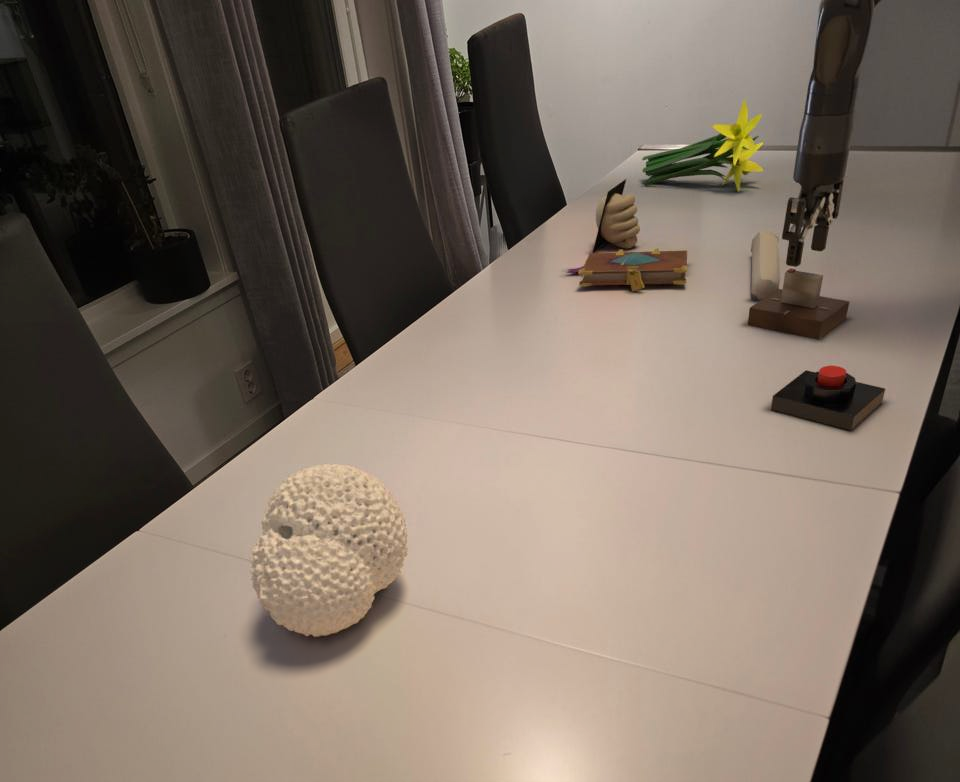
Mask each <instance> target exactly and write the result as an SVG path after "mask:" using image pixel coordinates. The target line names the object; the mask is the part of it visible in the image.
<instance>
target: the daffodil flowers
mask: <svg viewBox="0 0 960 782" xmlns="http://www.w3.org/2000/svg"><path fill="white" fill-rule="evenodd" d="M737 116H738V117H737V120H736V122H735V123H733V124H722V123H721V124H717V123H716V124H712V125H711V127H712V128H713V129H714V130H715V131H717V132H718V134H717V135H714V136H711V137H708V138H706V139H703V140H700V141H698V142H695V143H692V144H689V145H687V146H686V145H685V146H683V147H679V148H675V149H671V150H665V151H661V152H657V153H654V154H650V155H646V156H643V157H642V161H645V167H644V168H643V169H642V173H643V174H644V173H645V176H647V177H649V178H647V179H645V180H644V181H643V185H644V186H645V187H647V186H649V185H653V184H657V183H660V182H664V181H667V180H669V179H674V178H675V179H676V178H681V177H683V178H684V177H693V176H717V177H719V178H721V179H723V182H722V185H724V184H726V182H727V181H728V180H729V179H730V178H731V177H732V176H733V179H734V183H735V186H736V190H737V193H738V192H740V190H741V181H742V175H743V176H748V175H749V174H750V172H755V173H756V172H764V169H763V168H762V167H761V166H760V165H759V164H758V163H756V162H755V161H751V160H749V159H750V158H751V157H752V156H753V155H754V154H756V152H757V151H758V150H759V149H760V148H761V146H762V145H763V144H764V142H759V143H755V140H757V139H758V138H759V137H760V136H759V135H757V136H754V137H753V138H752V136H751V134H750V133H751V132H752V130H754V129H755V128H756V127H757V125H758V124H759V123H760V121H761V118H762V117H763V113H760V114H757V115H755V116H754V117H752V118H751V119H749V109H748V104H747V100H746V98H744V99H743V101H742V104H741V107H740V110H739V113H738V115H737ZM748 119H749V120H748ZM699 156H702V157H699ZM695 157H697V158H695ZM646 160H647V161H646ZM724 164H726V165H724ZM727 164H728V165H729V166H730V167H731V168H730V169H729V171H728V172H727V175H724V174H723V173H721V172H719V171H717V170H714V169H709V168H712V167H715V168H725V169H726V168H727V169H728V168H729V167H728V166H727Z"/></svg>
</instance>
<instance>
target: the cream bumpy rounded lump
mask: <svg viewBox="0 0 960 782" xmlns="http://www.w3.org/2000/svg"><path fill="white" fill-rule="evenodd" d="M267 504H268V505H267V507H266V508H265V509H264V513H263V515H262V519H261V525H262V526H261V529H262V532H261V533H262V535H261V536H259V539H257V540H256V541H255V545H256V546H254V547H253V549H252V550H251V554H252V559H250V563H251V569H250V574H251V581H252V588H253V590H254V591H255V592H256V595H257V598H258V599H259V603H260V604H261V605H263V609H264V610H266V611H269V616H270V617H271V619H272V620H273V621H275V623H276V624H277V625H279V626H280V625H281V626H283V627H284V628H285V629H287V630H288V631H291V632H293V631H294V633H297V634H302V635H304V636H305V637H309V636H313V637H314V638H316V637H321V636H324V637H326V636H329V635H332V634H337V633H339V632H340V631H343V630H346V629H348V628H350V627H351V626H353V625H355V624H358V623H359V621H360V620H361V619H363V618H365V615H366V614H367V613H368V611H370V609H371V608H372V606H373V602H374V600H375V594H376V593H377V592H379V591H381V590H384V589H387V588H388V586H389V585H390V584H392V583H393V581H395V580H396V579H397V576H399V574H400V573H401V572H402V571H401V569H402V568H404V561H405V558H406V557H407V556H408V555H409V550H408V549H409V547H408V546H407V544H408V528H407V527H406V526H407V524H406V523H407V522H406V518H405V517H404V514H403V511H402V509H401V508H400V504H399V502H398V501H397V500H396V498H395V497H394V495H393V494H392V492H391V491H390V490H389V489H388V488H387V487H386V485H384V484H383V482H382V481H380V479H377V478H376V477H375V476H373V475H372V474H371V473H368V472H367V471H364V470H362V469H360V468H356V467H355V466H351V465H349V464H347V465H346V464H338V463H334V464H329V463H324V464H323V465H322V466H321V465H319V464H317V465H313V466H308V467H307V468H302V469H300V470H299V471H296V472H295V473H293V474H290V475H287V478H286V479H285V480H283V481H282V484H280V485H278V488H277V489H275V491H274V493H273V495H272V496H270V497H269V501H268V503H267Z"/></svg>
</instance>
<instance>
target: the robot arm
mask: <svg viewBox="0 0 960 782" xmlns="http://www.w3.org/2000/svg"><path fill="white" fill-rule="evenodd" d="M882 1H883V0H820V3H819V6H818V11H817V12H818V13H817V27H816V36H815V45H814V54H813V64H812V65H813V66H812V70H811V72H810V76H809V80H808V85H807V91H806V95H805V96H806V98H805V103H804V109H803V110H804V111H803V116H802V120H801V124H800V128H799V132H798V141H797V148H796V154H795V160H794V161H795V162H794V169H793V174H792V175H793V176H792V179H793V181H794V182H795V183H796V184H799V185H800V190H799V193H798V196H797V197H789V198H788V200H787V204H786V210H785V217H784V223H783V229H782V235H781V240H782V241H783V240H784V241H788V245H787V246H788V247H787V252H786V260H785V264H786V266H788V267H794V268H797V267H799V266H801V264H802V258H803V253H804V245H805V239H806V237H807V235H808V232H809V230H810V229H813V234H812V238H811V245H810V249H811V250H812V251H815V252H823V251H824V250H826V247H827V241H828V237H829V230H830V227H831V226H832V225H833V221H834V220H836V219H837V218H838V217H839V214H840V207H841V202H842V201H841V200H842V194H843V188H844V182H845V181H844V180H845V177H846V171H847V166H848V161H849V160H848V159H849V154H850V149H851V143H852V138H853V132H854V125H855V124H854V122H855V110H856V106H857V105H856V104H857V101H858V94H859V88H860V81H861V68H862V64H863V60H864V56H865V53H866V48H867V46H868V45H867V44H868V42H869V36H870V32H871V27H872V24H873V23H872V22H873V17H874V12H875V10H876V9H877V7H878V6H879V5H880V4H881V3H882Z"/></svg>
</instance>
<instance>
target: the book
mask: <svg viewBox="0 0 960 782" xmlns="http://www.w3.org/2000/svg"><path fill="white" fill-rule="evenodd" d="M687 261H688V250H660V249H659V248H654V249H653V250H652V251H627V252H626V251H624V249H618V251H617V252H591V253H589V254H588V256H587V258H586V260H585V263H584V264H583V266H579V267H577V268H568V270H569V271H568V272H567V274H575V273H577V275H579V276H583V278H582V280H580V281H579V283H578V286H580V287H589V286H616V285H617V286H620V285H621V286H622V285H623V286H624V285H626V286H627V285H629V286H630V287H631V288H630V289H631V292H635V291H639V290H641V289H644V288H645V285H663V284H664V285H667V284H672V285H684V284H687V277H685V276H686V273H687V272H688V266H687Z"/></svg>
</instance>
